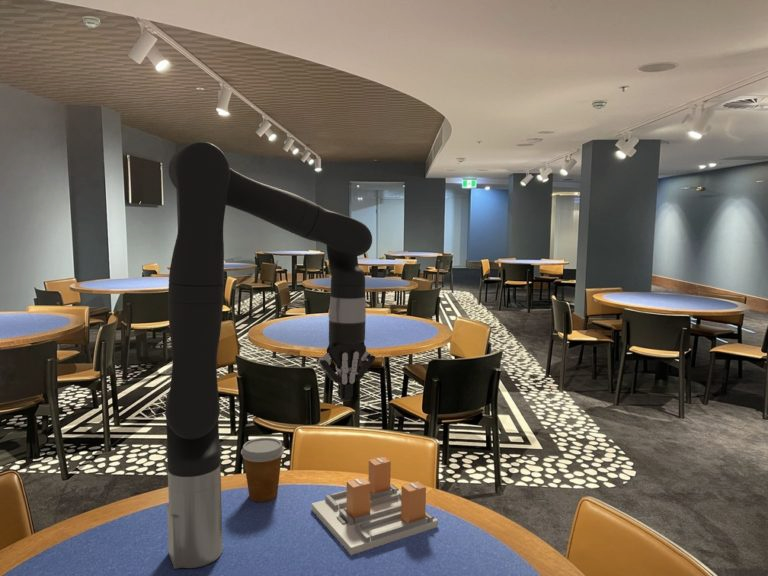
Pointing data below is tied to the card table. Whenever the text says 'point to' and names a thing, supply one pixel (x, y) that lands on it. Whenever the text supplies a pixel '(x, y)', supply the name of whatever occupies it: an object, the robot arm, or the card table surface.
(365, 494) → the tab mid
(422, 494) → the tab near
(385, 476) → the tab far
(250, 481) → the disposable coffee cup
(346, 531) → the switch bank
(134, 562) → the card table surface
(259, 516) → the card table surface
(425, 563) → the card table surface
